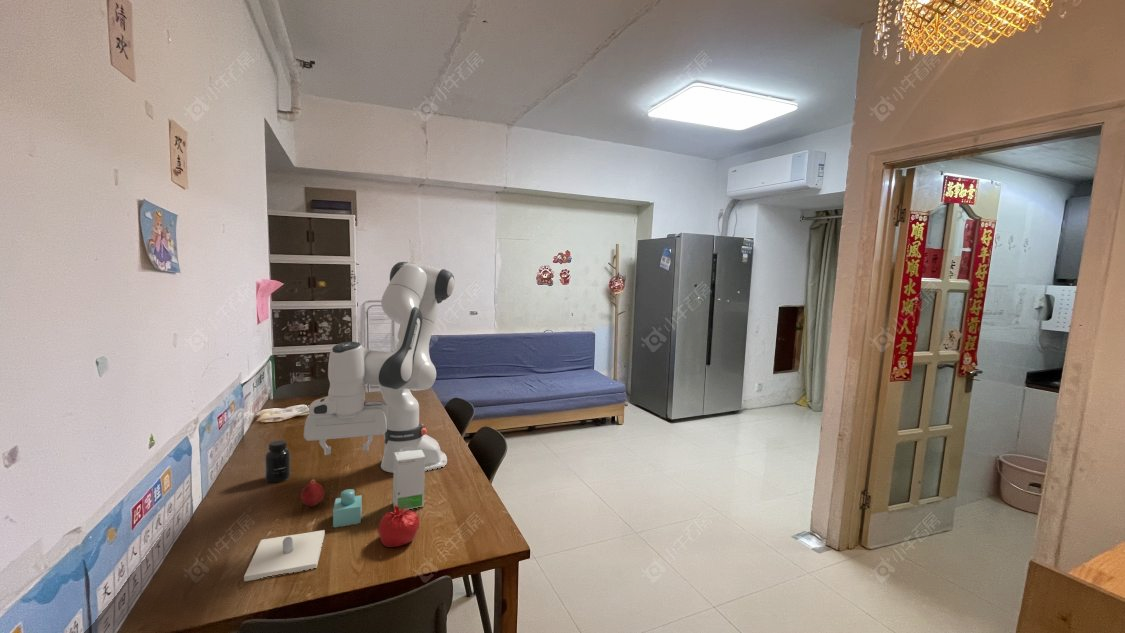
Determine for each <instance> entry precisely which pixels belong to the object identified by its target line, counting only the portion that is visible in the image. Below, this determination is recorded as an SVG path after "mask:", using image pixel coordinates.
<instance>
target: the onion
mask: <svg viewBox="0 0 1125 633" xmlns="http://www.w3.org/2000/svg"><path fill="white" fill-rule="evenodd" d="M324 496H325V489H324V487H323V485H321V484H320V483H318V482H316V480H315V479H312V480H311V481H310V482H309V483H307V484H306V485H305V486H304V487H303V489H302V490H301V494H300V499H301V502H302V503H303V504H304V505H305V506H308V507H316V505H318V504H319V503H320V502H321V501H322V500H323V498H324Z"/></svg>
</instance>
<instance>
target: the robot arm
mask: <svg viewBox="0 0 1125 633" xmlns="http://www.w3.org/2000/svg"><path fill="white" fill-rule="evenodd" d="M454 288H455V277H454V274H453V273H452V272H451V271H449V270H446V269H444V268H439V267H435V266H432V265H428V264H421V263H410V262H408V261H400V262H399V261H398V262H396V264H394V265H393V267H392V268H391V270H390V273H389V283H388V285H387V287H385V290H384V291H383V294H382V297H381V301H380V302H381V304H380V305H381V308H382V311H383V312H384V314H385V315H386V316H387V317H388V318H389V320H392V321H393V322H394V323H396V324H399V325H400V326H399V329H398V331H397V339H398V343H397V347H396V348H395V349H394V350H393V351H391V352H387V351H379V350H371V349H368V348H365V347H364V346H363V345H362V343H360V342H356V341H346V342H341V343H337V344H336V345H334V346H333V347H332V348H331V350H330V352H329V357H328V365H327V366H328V367H327V377H328V378H327V379H328V381H329V389H328V393H327V394H328V395H327V396H324V397H321V398H317V399H315V400H313V401H312V402H311V403H310V405H309V408H308V415H307V417H306V420H305V422H304V428H303V438H304V440H306V442H310V441H311V442H312V441H313V442H314V441H318V443H319V445H320V447H321V448H322V449H323V455H324V456H330V455H331V454H332V450H331V449H332V446H330V445H329V446H328V444H327V443H326V442H327V440H333V439H334V440H335V439H346V438H347V439H349V438H357V437H367V441H366V442H363V444H362V451H363V452H369V451H370V446H371V445H370V444H371V443H372V442H373V440H374V436H381V435H383V441H384V450H383V457H382V460H381V463H380V468H381V469H382V470H383V471H384V472H388V473H393V474H394V453H395V452H404V451H413V450H422V451H423V453H424V455H425V472H428V471H432V469H433V470H437V468H438V469H442V468H441V467H443V468H444V467H445V465H447V463H448V457H447V455H446V453H445V452H443V451H442V450H441V447H440V444H439V442H438V441H437V440H436V439H435V438H433V437H431V436H429V435H427V434H428V430H427V428H426V427H425V425H424V423H420V405H419V401H418V400H417V399H416V398H415V396H413V394H412V392H411V391H426V390H429V389H430V388H431V387H432V386H433V385H434V384H435V382H436V378H437V370H436V366H435V365H434V363H433V362H432V360H431V357H430V343H431V338H432V337H431V336H432V333H433V331H434V326H435V324H436V320H437V315H438V309H439V304H441V303H443V301H446V300H447V299H448V298H449V297H451V295H452V293H453V291H454ZM364 385H370V386H378V388H379V390H380V392H381V396H382V398H383V401H384V402H383V401H382V400H377V401H371V400H370V401H366V395H365V394H366V390H365V386H364ZM427 470H428V471H427Z"/></svg>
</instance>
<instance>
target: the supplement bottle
mask: <svg viewBox="0 0 1125 633" xmlns="http://www.w3.org/2000/svg"><path fill="white" fill-rule="evenodd" d="M287 447H288V446H287V441H286V440H282V439H279V440H274V441H271V442H269V444H268V451H267V452H266V453H265V455H264V458H265V459H264V468H265V469H264V472H265V473H264V475H265V478H264V479H265V481H266V482H267V483H271V484H272V483H273V484H274V483H280V482H284V481H287V480H288V479H289V477H290V476H291V451H290V450H289V449H288V448H287Z"/></svg>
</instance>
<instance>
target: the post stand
mask: <svg viewBox="0 0 1125 633" xmlns="http://www.w3.org/2000/svg"><path fill="white" fill-rule="evenodd" d="M325 531H326V530H325V529H323V530H315V531H309V532H305V533H296V534H290V535H283V536H277V537H271V538H264V539H260V541H259V543H258V546H257V547H256V550H255V552H254V553H253V554H254V555H253V557H252V559H251V560H250V562H249V565H248V568H247V569H246V571H245V574H244V576H243V579H244V580H243V581H244V582H250V581H255V580H261V579H264V578H263V577H267V576H272V575H278V574H283V573H289V574H293V572H294V573H298V572H299V573H300V572H304V571H303V570H305V571H310V570H309V569H311V570H314V569H313V568H316V569H317V567H318V563H319V559H320V556H321V552H322V548H323V544H324V543H323V542H324V538H325V535H326V532H325ZM322 543H323V544H322ZM321 547H322V548H321ZM283 575H284V574H283ZM278 576H279V575H278ZM272 577H273V576H272ZM260 578H261V579H260ZM267 578H268V577H267Z"/></svg>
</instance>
